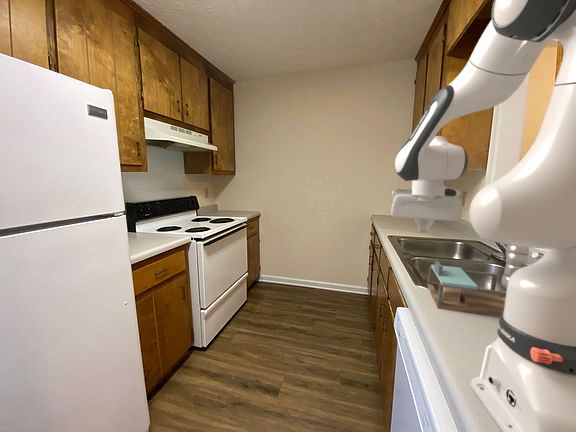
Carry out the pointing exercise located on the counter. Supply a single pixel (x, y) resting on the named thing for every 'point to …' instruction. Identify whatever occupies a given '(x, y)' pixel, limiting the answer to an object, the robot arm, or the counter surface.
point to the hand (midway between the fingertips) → (422, 232)
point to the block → (451, 295)
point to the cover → (453, 276)
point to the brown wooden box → (470, 297)
